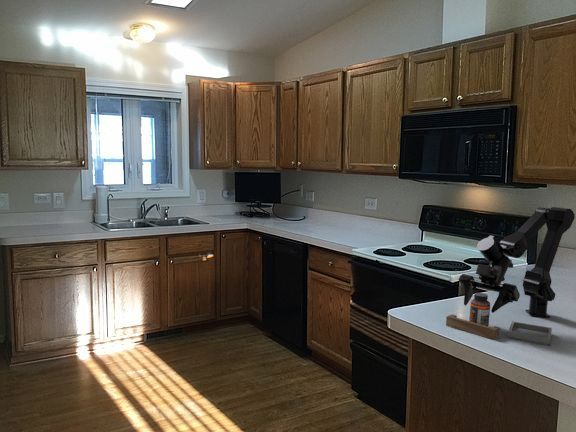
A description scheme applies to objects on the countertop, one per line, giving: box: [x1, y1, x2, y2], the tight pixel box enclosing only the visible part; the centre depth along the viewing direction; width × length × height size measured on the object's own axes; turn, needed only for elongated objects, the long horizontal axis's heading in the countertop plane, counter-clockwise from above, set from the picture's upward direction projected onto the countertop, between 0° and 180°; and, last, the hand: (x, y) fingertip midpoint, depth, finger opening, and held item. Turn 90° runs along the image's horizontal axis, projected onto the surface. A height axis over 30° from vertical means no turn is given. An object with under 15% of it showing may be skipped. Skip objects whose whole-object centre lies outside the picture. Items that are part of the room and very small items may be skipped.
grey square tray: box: [507, 320, 553, 346], centre depth 156 cm, size 12×12×2 cm
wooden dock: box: [445, 313, 501, 340], centre depth 159 cm, size 4×16×3 cm, turn 43°
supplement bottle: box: [468, 292, 491, 327], centre depth 162 cm, size 6×6×11 cm
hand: (478, 308), depth 161 cm, fingers open, 9 cm apart
